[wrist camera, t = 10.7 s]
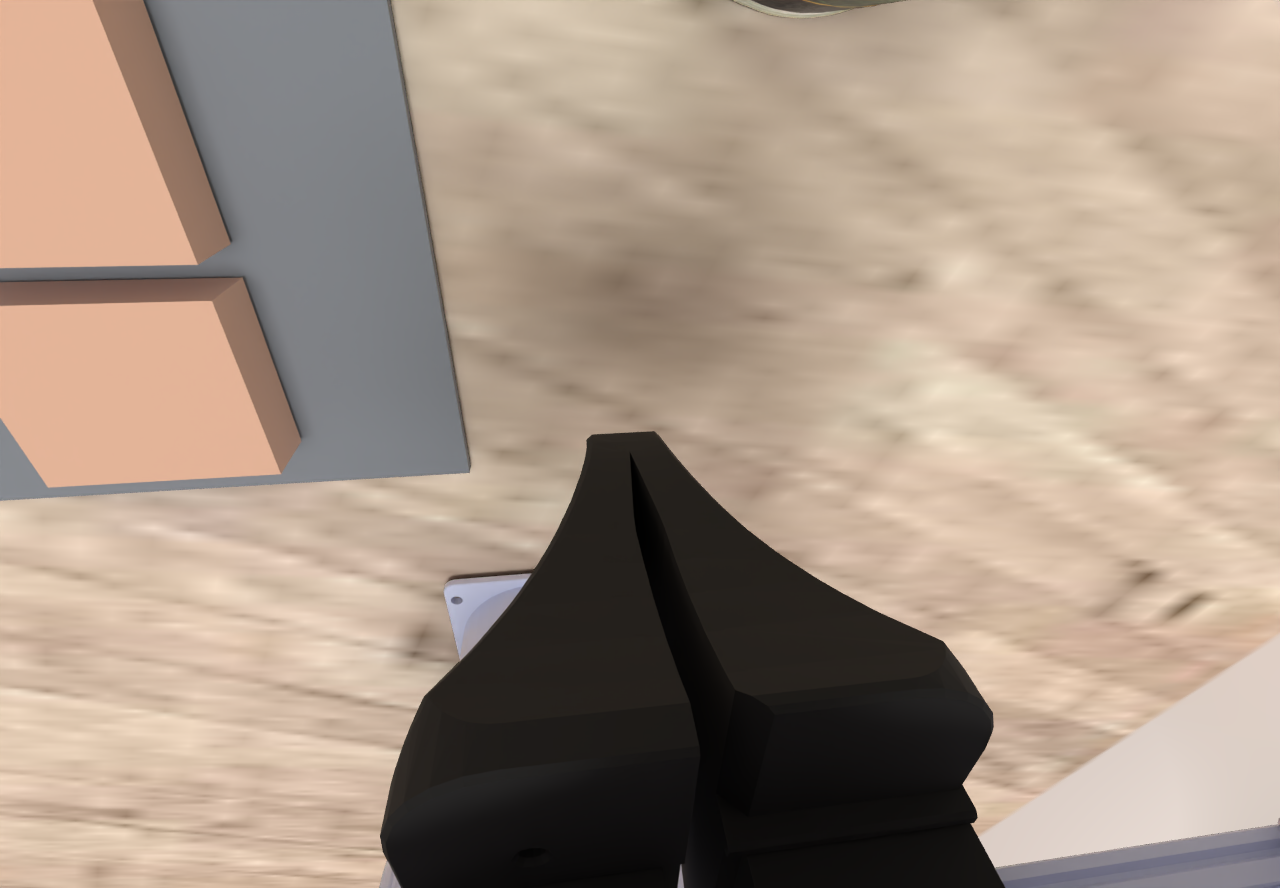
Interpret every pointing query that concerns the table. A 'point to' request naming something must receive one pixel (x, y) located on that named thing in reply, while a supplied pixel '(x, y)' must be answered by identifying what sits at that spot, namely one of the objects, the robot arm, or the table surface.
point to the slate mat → (307, 235)
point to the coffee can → (808, 6)
